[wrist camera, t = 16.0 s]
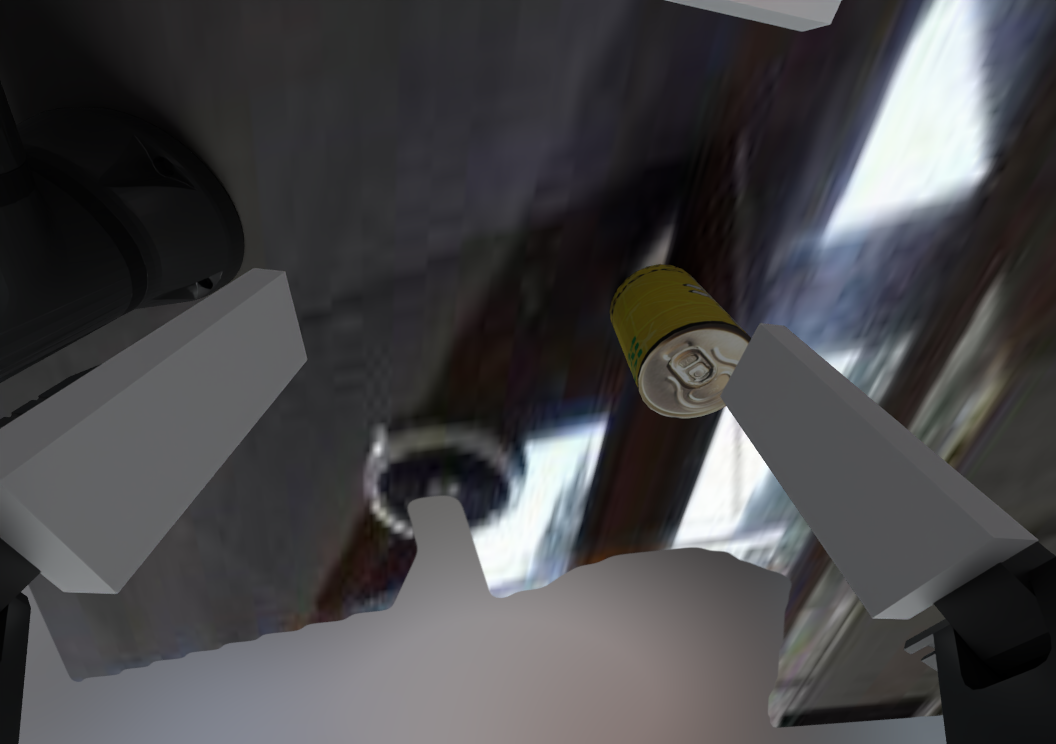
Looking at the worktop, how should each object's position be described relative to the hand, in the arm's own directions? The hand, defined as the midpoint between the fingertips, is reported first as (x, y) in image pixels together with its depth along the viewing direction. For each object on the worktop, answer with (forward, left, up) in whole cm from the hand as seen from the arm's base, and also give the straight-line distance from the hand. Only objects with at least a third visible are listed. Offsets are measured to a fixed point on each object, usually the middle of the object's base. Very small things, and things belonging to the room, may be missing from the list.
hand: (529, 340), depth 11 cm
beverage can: (+15, -9, -26) cm, 32 cm away
